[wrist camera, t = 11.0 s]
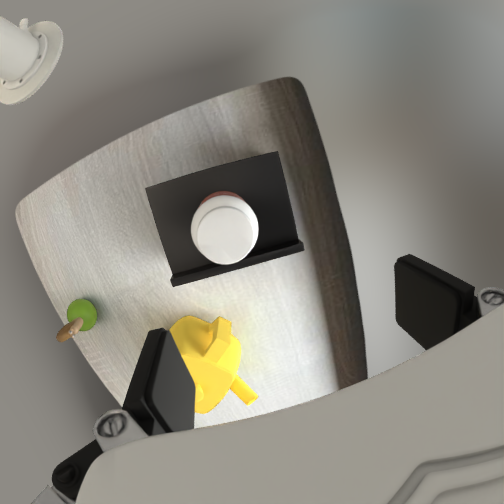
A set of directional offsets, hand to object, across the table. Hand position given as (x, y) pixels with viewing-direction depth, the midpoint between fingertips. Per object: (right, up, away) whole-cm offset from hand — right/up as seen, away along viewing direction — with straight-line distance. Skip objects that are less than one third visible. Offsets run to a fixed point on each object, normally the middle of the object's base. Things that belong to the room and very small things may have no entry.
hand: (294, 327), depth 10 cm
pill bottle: (-5, +7, +23) cm, 24 cm away
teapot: (-10, -14, +36) cm, 40 cm away
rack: (-6, +9, +30) cm, 32 cm away
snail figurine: (-30, -7, +32) cm, 44 cm away
